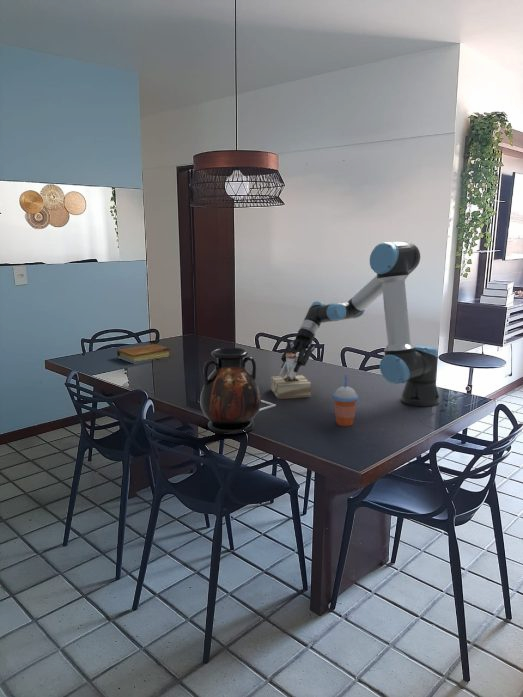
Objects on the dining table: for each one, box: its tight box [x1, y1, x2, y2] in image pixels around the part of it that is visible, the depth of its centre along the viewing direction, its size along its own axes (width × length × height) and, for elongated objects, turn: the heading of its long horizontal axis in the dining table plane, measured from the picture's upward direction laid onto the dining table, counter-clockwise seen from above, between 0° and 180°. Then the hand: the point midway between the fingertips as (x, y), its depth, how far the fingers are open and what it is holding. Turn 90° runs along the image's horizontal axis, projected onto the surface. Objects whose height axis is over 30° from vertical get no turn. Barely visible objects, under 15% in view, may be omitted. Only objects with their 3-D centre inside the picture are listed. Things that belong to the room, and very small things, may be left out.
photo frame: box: [259, 399, 277, 412], centre depth 218 cm, size 15×1×18 cm
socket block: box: [270, 374, 312, 400], centre depth 233 cm, size 14×14×6 cm
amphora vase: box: [199, 347, 262, 435], centre depth 189 cm, size 22×22×28 cm
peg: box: [285, 353, 297, 382], centre depth 231 cm, size 4×4×14 cm
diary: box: [116, 343, 171, 362], centre depth 301 cm, size 23×19×6 cm
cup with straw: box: [332, 374, 359, 427], centre depth 194 cm, size 9×9×18 cm
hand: (285, 376), depth 229 cm, fingers closed on peg, 4 cm apart
